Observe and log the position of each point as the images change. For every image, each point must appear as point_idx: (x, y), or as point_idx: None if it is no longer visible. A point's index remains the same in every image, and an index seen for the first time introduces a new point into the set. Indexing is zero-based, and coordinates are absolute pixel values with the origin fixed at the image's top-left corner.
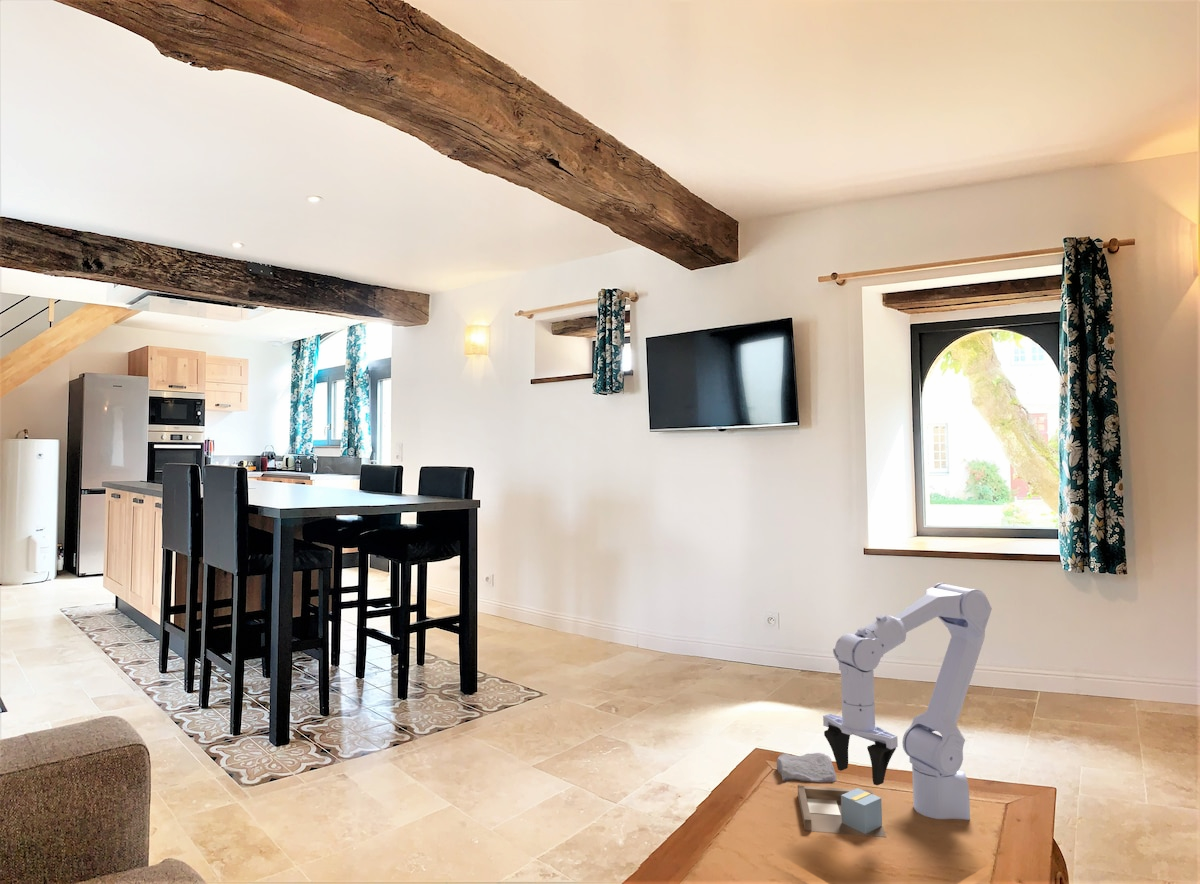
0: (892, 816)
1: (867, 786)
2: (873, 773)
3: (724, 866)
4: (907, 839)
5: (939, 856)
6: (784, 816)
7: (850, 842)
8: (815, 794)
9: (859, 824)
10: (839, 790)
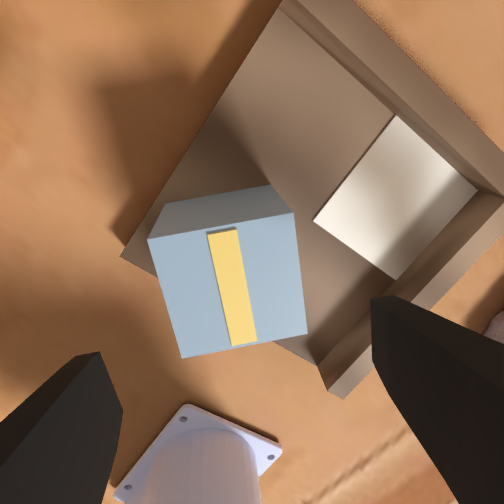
0: (254, 373)
1: None
2: (36, 406)
3: None
4: (127, 322)
5: (8, 333)
6: (455, 43)
7: (182, 140)
8: (459, 229)
9: (188, 205)
10: None
